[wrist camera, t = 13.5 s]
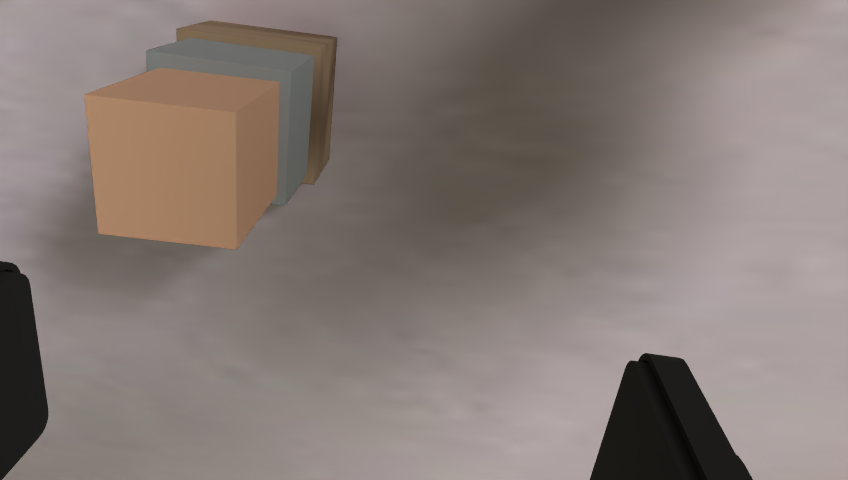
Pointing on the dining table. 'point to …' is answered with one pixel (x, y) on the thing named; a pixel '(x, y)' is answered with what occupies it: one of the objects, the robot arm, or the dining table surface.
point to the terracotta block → (183, 156)
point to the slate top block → (265, 66)
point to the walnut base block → (294, 43)
